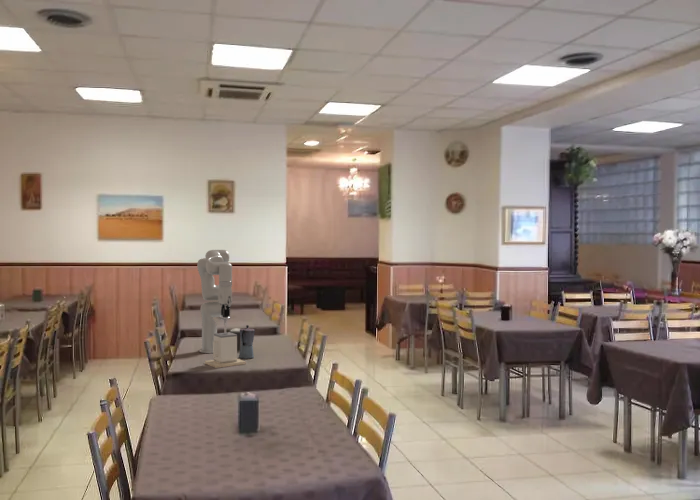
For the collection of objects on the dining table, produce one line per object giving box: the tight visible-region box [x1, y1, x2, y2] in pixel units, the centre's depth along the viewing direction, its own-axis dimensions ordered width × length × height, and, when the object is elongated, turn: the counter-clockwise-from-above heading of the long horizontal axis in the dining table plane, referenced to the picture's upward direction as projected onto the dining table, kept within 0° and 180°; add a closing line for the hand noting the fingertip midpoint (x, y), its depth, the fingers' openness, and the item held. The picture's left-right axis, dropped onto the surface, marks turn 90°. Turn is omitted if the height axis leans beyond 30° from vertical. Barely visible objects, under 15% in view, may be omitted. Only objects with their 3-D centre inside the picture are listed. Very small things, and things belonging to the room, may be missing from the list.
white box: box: [204, 331, 247, 369], centre depth 384 cm, size 15×19×18 cm
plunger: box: [220, 308, 231, 335], centre depth 384 cm, size 8×8×23 cm
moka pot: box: [238, 324, 255, 360], centre depth 401 cm, size 10×15×20 cm, turn 174°
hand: (225, 315), depth 384 cm, fingers closed on plunger, 3 cm apart
